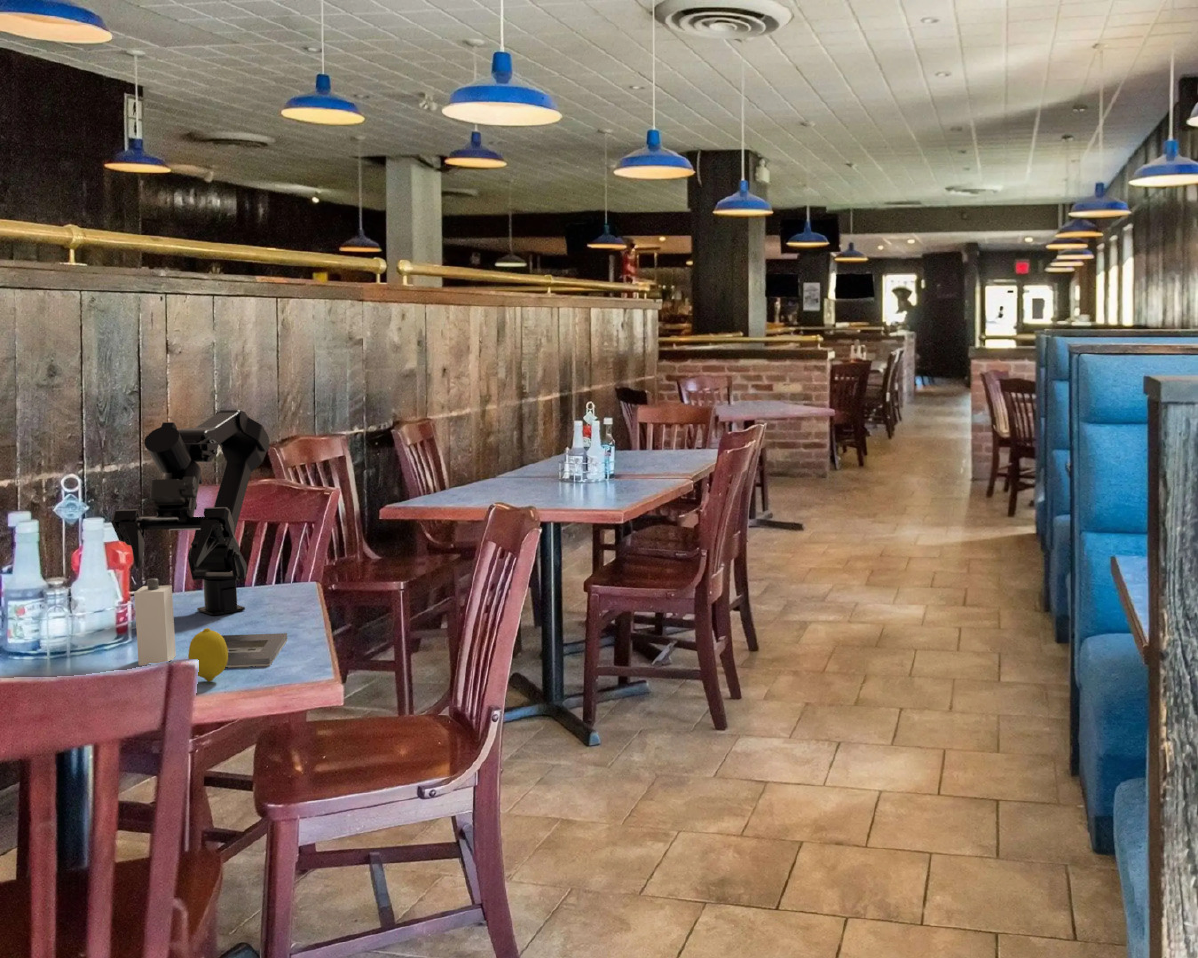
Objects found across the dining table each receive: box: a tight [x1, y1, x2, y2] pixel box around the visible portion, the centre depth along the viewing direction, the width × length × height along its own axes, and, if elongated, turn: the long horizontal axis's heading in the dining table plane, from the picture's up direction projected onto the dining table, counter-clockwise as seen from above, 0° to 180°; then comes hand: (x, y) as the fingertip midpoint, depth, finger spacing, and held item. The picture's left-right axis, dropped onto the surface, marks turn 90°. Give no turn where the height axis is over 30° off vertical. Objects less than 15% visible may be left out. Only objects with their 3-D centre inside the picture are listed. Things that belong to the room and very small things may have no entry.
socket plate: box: [220, 632, 288, 668], centre depth 197 cm, size 16×12×1 cm
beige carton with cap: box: [133, 577, 177, 666], centre depth 193 cm, size 5×4×13 cm
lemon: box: [187, 627, 228, 683], centre depth 181 cm, size 6×6×8 cm
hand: (166, 566), depth 200 cm, fingers open, 9 cm apart
